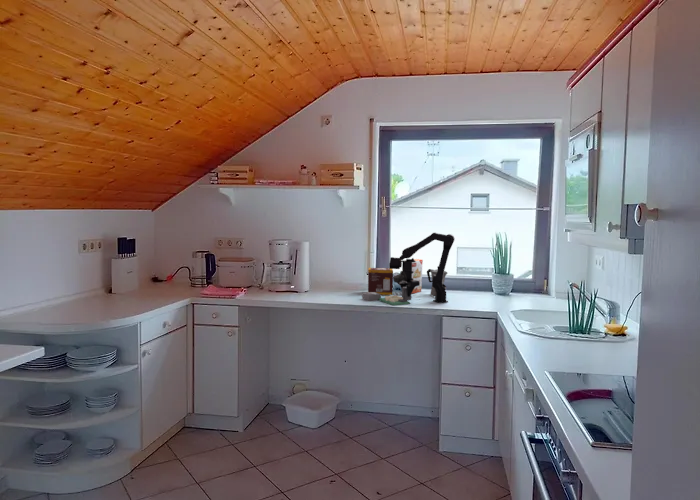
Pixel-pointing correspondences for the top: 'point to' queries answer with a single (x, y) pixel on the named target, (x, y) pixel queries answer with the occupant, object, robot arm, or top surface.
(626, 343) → the top surface
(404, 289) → the plug
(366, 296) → the speaker
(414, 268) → the cracker box
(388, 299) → the board
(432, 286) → the coffeepot
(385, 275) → the supplement box
